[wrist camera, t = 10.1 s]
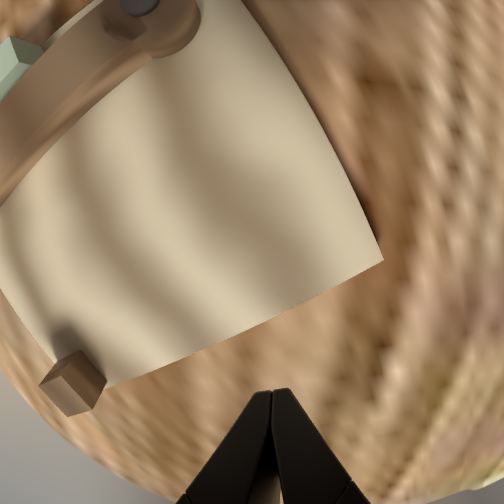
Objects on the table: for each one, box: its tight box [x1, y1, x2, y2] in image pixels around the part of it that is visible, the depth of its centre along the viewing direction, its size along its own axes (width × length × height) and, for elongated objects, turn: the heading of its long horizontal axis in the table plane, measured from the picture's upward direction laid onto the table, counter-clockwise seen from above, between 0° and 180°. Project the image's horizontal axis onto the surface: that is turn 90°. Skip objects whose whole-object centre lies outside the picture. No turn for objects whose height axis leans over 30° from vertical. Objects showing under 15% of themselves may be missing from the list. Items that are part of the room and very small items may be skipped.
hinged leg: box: [0, 0, 201, 207], centre depth 12 cm, size 16×4×4 cm, turn 122°
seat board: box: [0, 0, 384, 417], centre depth 15 cm, size 23×21×4 cm
